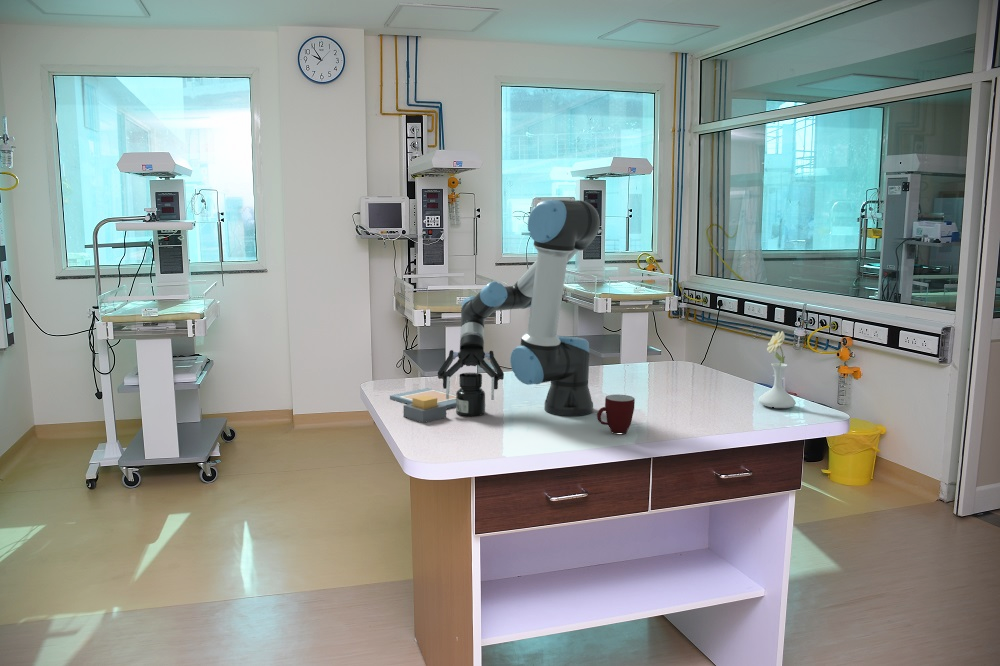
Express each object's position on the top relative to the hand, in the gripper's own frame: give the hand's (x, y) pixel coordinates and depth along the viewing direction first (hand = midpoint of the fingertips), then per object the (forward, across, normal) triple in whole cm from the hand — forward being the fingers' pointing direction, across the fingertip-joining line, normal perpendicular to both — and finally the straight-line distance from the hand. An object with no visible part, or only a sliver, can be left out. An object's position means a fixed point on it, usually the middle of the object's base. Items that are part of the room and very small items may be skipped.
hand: (470, 397), depth 231 cm
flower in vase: (-6, -98, -14) cm, 99 cm away
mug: (+16, -41, +9) cm, 45 cm away
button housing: (+6, +13, -2) cm, 15 cm away
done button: (+5, +13, 0) cm, 14 cm away
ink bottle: (+3, 0, -5) cm, 6 cm away
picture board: (-8, +13, -16) cm, 22 cm away
